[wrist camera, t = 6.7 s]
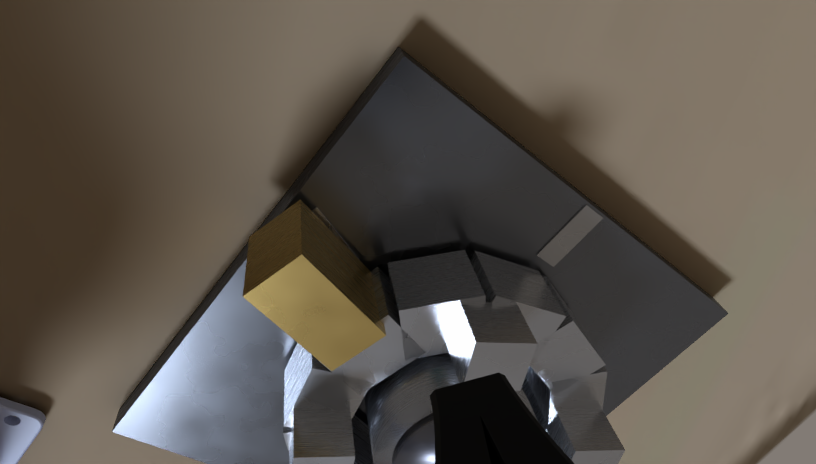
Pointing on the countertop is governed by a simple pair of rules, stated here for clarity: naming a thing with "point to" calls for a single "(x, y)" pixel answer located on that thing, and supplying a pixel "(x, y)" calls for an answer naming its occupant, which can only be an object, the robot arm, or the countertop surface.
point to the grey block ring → (417, 337)
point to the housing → (410, 410)
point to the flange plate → (411, 238)
